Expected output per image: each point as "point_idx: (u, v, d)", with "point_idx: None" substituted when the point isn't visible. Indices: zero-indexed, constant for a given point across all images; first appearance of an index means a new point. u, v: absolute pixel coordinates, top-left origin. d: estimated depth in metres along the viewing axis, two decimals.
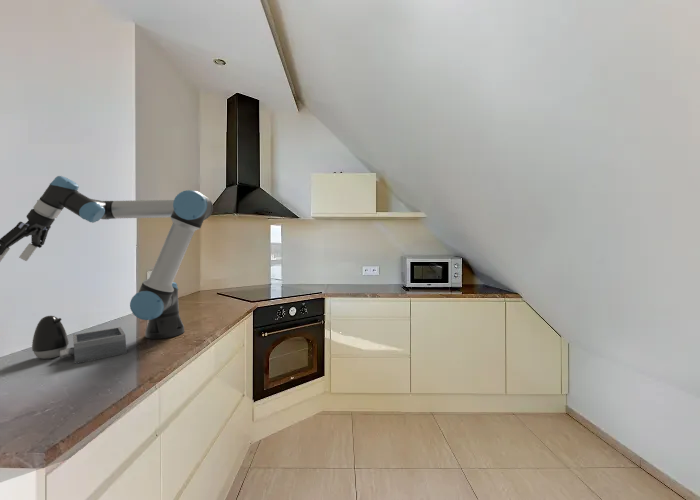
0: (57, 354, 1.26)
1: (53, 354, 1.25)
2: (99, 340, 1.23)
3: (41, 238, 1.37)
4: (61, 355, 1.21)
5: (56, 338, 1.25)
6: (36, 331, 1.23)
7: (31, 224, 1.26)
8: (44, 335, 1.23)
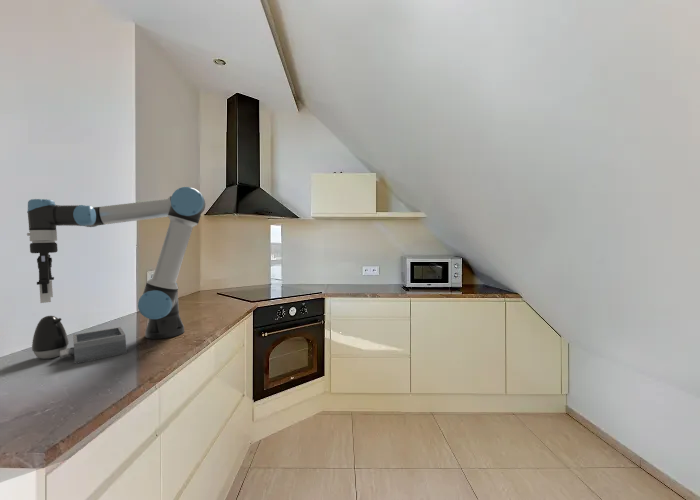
0: (57, 354, 1.26)
1: (53, 354, 1.25)
2: (99, 340, 1.23)
3: None
4: (61, 355, 1.21)
5: (56, 338, 1.25)
6: (36, 331, 1.23)
7: (46, 255, 1.23)
8: (44, 335, 1.23)
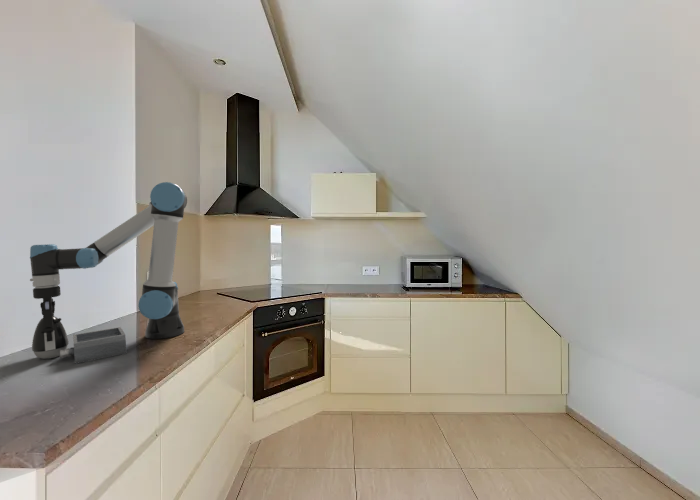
0: (57, 354, 1.26)
1: (53, 354, 1.24)
2: (99, 340, 1.23)
3: None
4: (61, 355, 1.21)
5: (56, 338, 1.25)
6: (36, 331, 1.23)
7: (49, 300, 1.24)
8: None
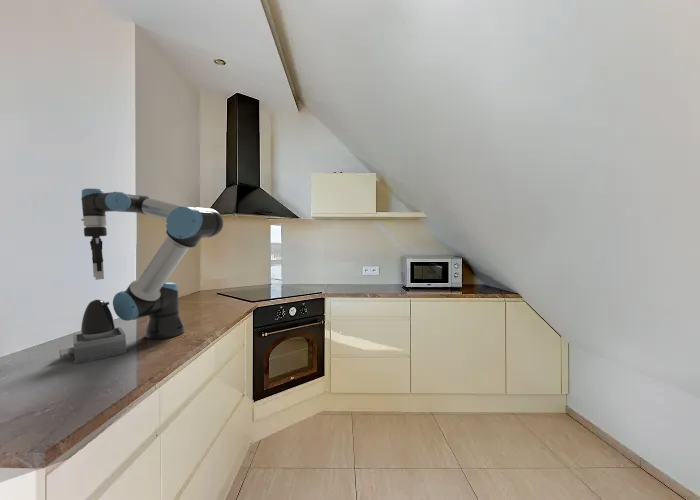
0: (105, 337, 1.27)
1: (101, 337, 1.26)
2: (99, 340, 1.23)
3: None
4: (61, 355, 1.21)
5: (105, 322, 1.27)
6: (85, 314, 1.25)
7: (98, 237, 1.40)
8: (93, 318, 1.25)
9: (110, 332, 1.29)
